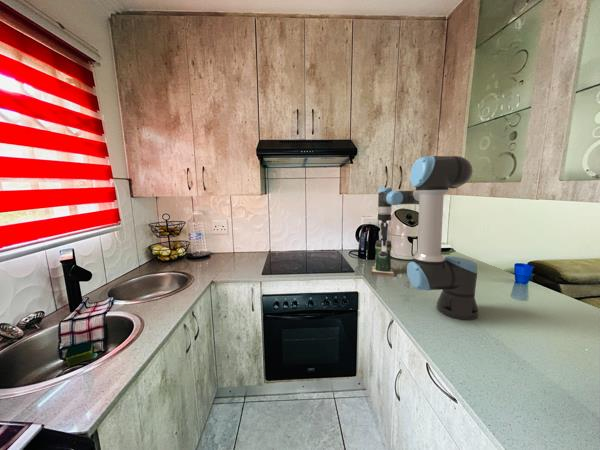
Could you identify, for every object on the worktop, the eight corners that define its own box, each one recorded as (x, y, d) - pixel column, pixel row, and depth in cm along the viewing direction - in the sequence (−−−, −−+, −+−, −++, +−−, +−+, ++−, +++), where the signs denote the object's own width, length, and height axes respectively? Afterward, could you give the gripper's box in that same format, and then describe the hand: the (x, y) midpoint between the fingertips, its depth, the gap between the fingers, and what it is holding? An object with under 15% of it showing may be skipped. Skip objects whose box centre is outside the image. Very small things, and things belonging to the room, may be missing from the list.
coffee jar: (391, 268, 156) (392, 239, 153) (390, 272, 149) (392, 242, 146) (374, 266, 160) (375, 238, 157) (373, 270, 152) (374, 241, 149)
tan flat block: (394, 276, 148) (394, 273, 147) (371, 274, 151) (371, 271, 151) (392, 270, 158) (392, 267, 158) (371, 268, 162) (371, 266, 161)
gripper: (377, 211, 162) (376, 243, 165) (378, 215, 138) (377, 253, 141) (389, 211, 160) (388, 244, 163) (392, 215, 136) (391, 253, 139)
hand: (383, 248), depth 152 cm, fingers open, 13 cm apart
